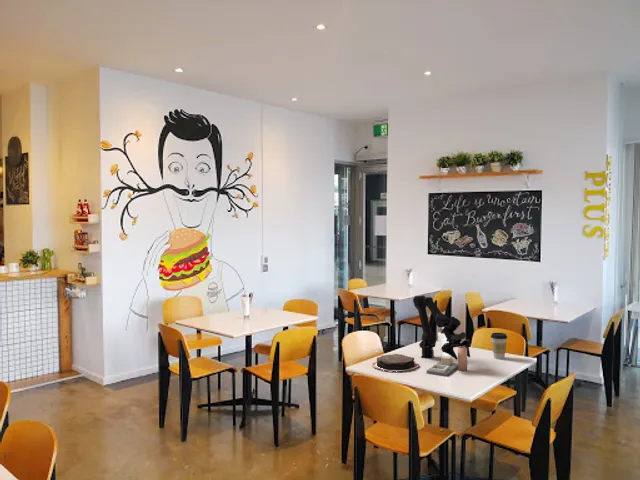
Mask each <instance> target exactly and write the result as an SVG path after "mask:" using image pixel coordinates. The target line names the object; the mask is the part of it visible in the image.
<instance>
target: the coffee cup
mask: <svg viewBox="0 0 640 480" xmlns="http://www.w3.org/2000/svg"><path fill="white" fill-rule="evenodd" d="M490 338H491V346H492V347H491V348H492V353H493V358H494V360H495V359H496V360H505V356H506V350H507V339H508V336H507V333H505V332H491V335H490Z"/></svg>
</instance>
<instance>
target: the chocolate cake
mask: <svg viewBox="0 0 640 480" xmlns="http://www.w3.org/2000/svg"><path fill="white" fill-rule="evenodd" d="M376 363H377V366H378V367H380V368H378V367H376V366H375V364H376ZM419 365H420V364H419V362H417V361H415V357H413V356H412V357H411V356H408V355H405V354H398V353H393V354H383V355H381V356H378V357H377V358H376V360H374V361H373V362H372V363H371V366H372V367H373V368H374V367H375V368H374V369H377V370H379V371H381V370H384V371H383V372H386V371H393V372H392V373H404V372H403V371H405V372H411V371H414V370H416V369H417V368H418V367H419ZM381 368H383V369H381ZM396 371H397V372H396ZM399 371H401V372H399Z"/></svg>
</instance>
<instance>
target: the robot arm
mask: <svg viewBox="0 0 640 480" xmlns="http://www.w3.org/2000/svg"><path fill="white" fill-rule="evenodd" d="M412 301H413V305H414V307H415V308H416V309H417V311H418V316H419V321H420V324H421V328H422V334H421V341H420V342H419V344H418V346H419V348H421V356H420V358H424V359H433V358H434V357H435V353H434V352H435V350H434V348H435V347H436V345H437V337H436V333H435V332H433V331H432V330H431V326H430V321H429V316H428V312H427V309H429V312H430V313H431V314H432V316H433V317H434V322H435V324H436V326H437V327H438V328H441V330H440V334H444V337H445V338H446V342H445V343H443V344H442V346H441V348H440V350H441V351H442V353H445V354H447V355H448V356H452V359H455V360H456V361H458V355H457V354H456V352H455V350H454V348H458V347H466V348H467V358H470V357H471V352H470V346H471V345H472V341H471V339H466V337H467V333H466V332H465V331H462V332H460V333H455V331H457V329H458V328H459V327H460V326H461V321H460V319H458V318H456V317H455V316H450V317H448V316H447V315H446V314H445V313H443V312H441V310H440V309H439V307H438V305H436V302H434V299H433V297H431V296H425V295H423V294H422V295H416V296H414V297H413V299H412Z"/></svg>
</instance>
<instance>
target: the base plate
mask: <svg viewBox="0 0 640 480" xmlns="http://www.w3.org/2000/svg"><path fill="white" fill-rule="evenodd" d="M440 359H441V360H440V361H439V362H437V363H434V364H432V365H431V366H430V367H429V368H428V369H427V370H426V374H427V375H428V374H429V375H435V376H441V377H448V376H449V375H450V374H452V373H453V372H455V371H456V370H458V362H453V357H452V356H450V355H443V356H442V357H441V358H440Z"/></svg>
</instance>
